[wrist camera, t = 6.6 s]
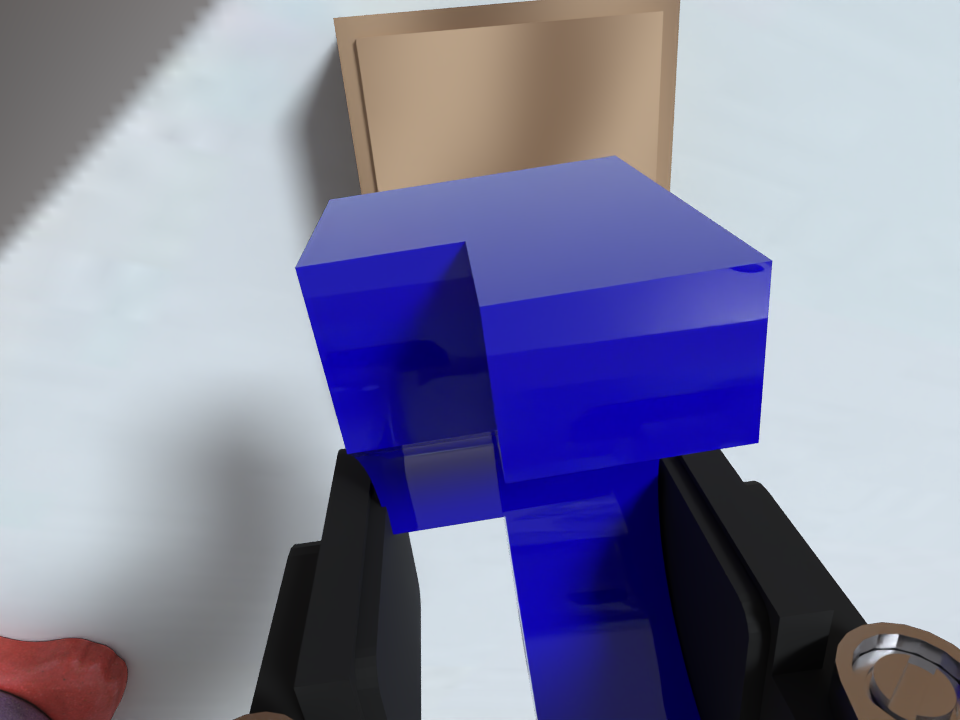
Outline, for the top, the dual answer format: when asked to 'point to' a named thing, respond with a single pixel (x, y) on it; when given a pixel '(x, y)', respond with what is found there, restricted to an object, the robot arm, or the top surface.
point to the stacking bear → (59, 680)
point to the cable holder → (545, 393)
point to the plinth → (509, 88)
